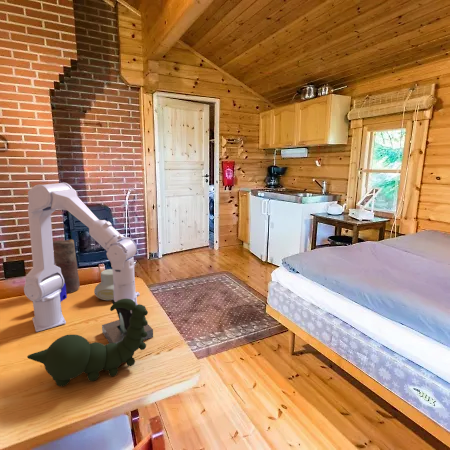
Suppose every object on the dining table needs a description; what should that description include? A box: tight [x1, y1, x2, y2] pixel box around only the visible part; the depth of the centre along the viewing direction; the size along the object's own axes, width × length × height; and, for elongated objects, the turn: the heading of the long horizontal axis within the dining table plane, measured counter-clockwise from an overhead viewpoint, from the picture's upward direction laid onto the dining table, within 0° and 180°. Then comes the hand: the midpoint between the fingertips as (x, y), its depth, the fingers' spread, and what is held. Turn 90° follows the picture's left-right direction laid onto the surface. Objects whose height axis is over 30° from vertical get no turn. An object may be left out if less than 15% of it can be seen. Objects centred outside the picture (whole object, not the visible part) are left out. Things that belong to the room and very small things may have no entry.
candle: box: [53, 238, 81, 294], centre depth 114 cm, size 8×7×20 cm
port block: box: [101, 319, 154, 344], centre depth 87 cm, size 11×11×2 cm
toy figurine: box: [26, 298, 149, 387], centre depth 69 cm, size 9×19×25 cm
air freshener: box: [93, 268, 114, 302], centre depth 110 cm, size 11×8×10 cm
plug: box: [119, 313, 127, 333], centre depth 86 cm, size 3×3×7 cm
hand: (127, 325), depth 86 cm, fingers open, 4 cm apart
